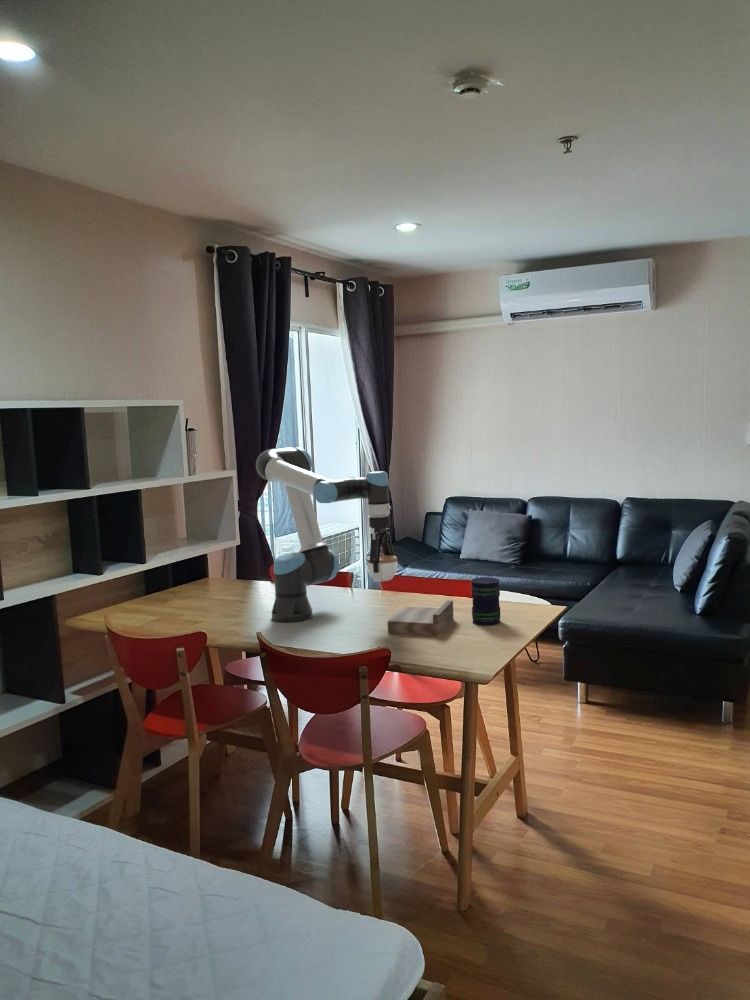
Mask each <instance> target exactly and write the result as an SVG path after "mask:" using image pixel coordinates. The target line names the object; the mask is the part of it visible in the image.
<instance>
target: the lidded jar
mask: <svg viewBox="0 0 750 1000" xmlns="http://www.w3.org/2000/svg"><path fill="white" fill-rule="evenodd" d="M379 563H381V578H382V582H388V581H392V580H393V578H394V576H395V575H396V573H397V571H398V557H397V556H396V555H394V556H392V555H384V552H381V554H380V561H379ZM366 564H367V565H366V566H367V570H368V574H369V575H370V577H371V578H372V579H373V563H370V556H368V557H367V558H366Z"/></svg>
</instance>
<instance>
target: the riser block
mask: <svg viewBox="0 0 750 1000" xmlns="http://www.w3.org/2000/svg"><path fill="white" fill-rule="evenodd" d="M454 620H455V619H454V600H446V601H445V602H444V603H443V604H442V605H441V606H440V607H438V608H437V607H423V606H421V607H417V606H404V607H403V608H401V609H400V610H399V611H398V612H397V613H396V614H395V615H393V616H391V618H390V619H388V620H387V633H388V632H389V633H391V634H403V633H415V634H414V635H421V634H427V635H426V636H439V635H440V636H441V635H442V633H444V631H445V630H446V629H447V628H448V627H449V625H450V624H451V623H453V622H454ZM428 634H429V635H428Z"/></svg>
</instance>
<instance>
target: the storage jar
mask: <svg viewBox="0 0 750 1000" xmlns="http://www.w3.org/2000/svg"><path fill="white" fill-rule="evenodd" d="M470 582H471V584H470V585H471V591H470V592H471V597H472V607H471V616H472V624H473V625H476V626H480V627H481V626H482V627H492V626H493V627H494V626H496V625H500V624H501V619H500V618H501V606H500V595H501V589H500V588H501V587H500V579H499V578H495V577H488V576H487V577H476V578H472V579H471V581H470Z"/></svg>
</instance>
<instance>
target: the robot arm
mask: <svg viewBox="0 0 750 1000" xmlns="http://www.w3.org/2000/svg"><path fill="white" fill-rule="evenodd" d="M312 467H313V461H312V458H311V455H310V453H309V452H308V451H307V450H306V449H304V448H302V447H299V446H298V447H296V446H290V447H281V448H268V449H266V450H264V451H262V452H261V453H260V454H259V455H258V456H257V458H256V461H255V470H256V471H257V474H258V475H259V476H260V477H261V478H262V479H263V480H266V481H269V482H270V483H277V482H278V483H280V486H281V487H283V488H285V492H286V494H287V499H288V502H289V506H290V510H291V513H292V517H293V521H294V526H295V529H296V533H297V536H298V541H299V545H300V548H299V551H298V552H291V553H285V554H282V555H279V556H277V557H275V559H274V561H273V570H272V571H273V575H274V577H273V578H274V595H275V596H274V597H275V598H274V602H273V606H272V610H271V619H272V620H273V621H275V622H278V623H279V622H280V623H281V622H282V623H292V622H301V621H307V620H309V619H311V618H312V617H313V608H312V606H311V602H310V601H309V598H308V594H307V592H308V590H307V587H308V586H313V585H317V584H320V583H321V584H323V583H327V582H328V581H331V580H333V579H334V578H335V577H336V576H337V575H338V571H339V568H340V567H339V566H340V565H339V558H338V555H337V554H336V553H335V552H334V551H333V550H332V549H331V550H330V549H329V548H330V547H329V544H327V543H325V542H324V541H323V537H322V534H321V530H320V527H319V522H318V519H317V515H316V511H315V507H314V504H313V501H312V496H313V497H314V499H315V500H316V501H317V502H318V503H319V504H331V503H335V502H336V503H338V502H342V501H350V500H356V499H357V500H359V499H366V500H367V509H368V510H367V511H368V512H367V513H368V514H367V515H368V516H369V518H368V524H369V528H370V529H373V533H370V535H369V536H370V549H369V551H370V553H369V557H370V563H373V578H372V579H373V582H374V583H376V582H377V583H378V582H379V583H381V582H383V581H382V578H381V563H379V561H380V554H381V553H383V555H392V556H395V554H394V548H393V541H392V536H391V528H390V527H391V526H392V521H391V516H390V514H391V509H392V506H390V504H391V503H390V486H389V485H390V483H389V476H388V472H386V471H384V470H382V471H369V472H367V473H366V477H356V476H350V477H346V478H339V479H331V478H328V477H325V476H323V475H320V474H317V473H315V472H312V469H313V468H312Z"/></svg>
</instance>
